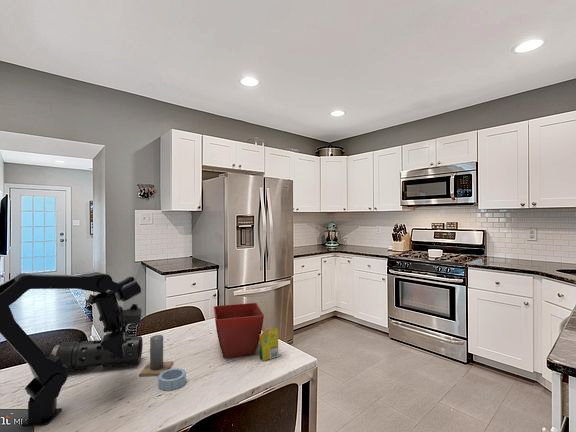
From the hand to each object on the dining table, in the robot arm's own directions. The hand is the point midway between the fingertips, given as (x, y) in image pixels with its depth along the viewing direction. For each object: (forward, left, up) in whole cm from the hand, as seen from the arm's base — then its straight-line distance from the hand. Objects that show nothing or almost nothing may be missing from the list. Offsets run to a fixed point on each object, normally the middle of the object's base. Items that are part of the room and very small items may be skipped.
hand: (124, 350), depth 102 cm
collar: (-1, -16, -11) cm, 20 cm away
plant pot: (+23, -36, -11) cm, 44 cm away
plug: (+9, -8, -10) cm, 16 cm away
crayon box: (+15, -49, -11) cm, 52 cm away
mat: (+9, -8, -11) cm, 16 cm away
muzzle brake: (+12, +14, -11) cm, 22 cm away
